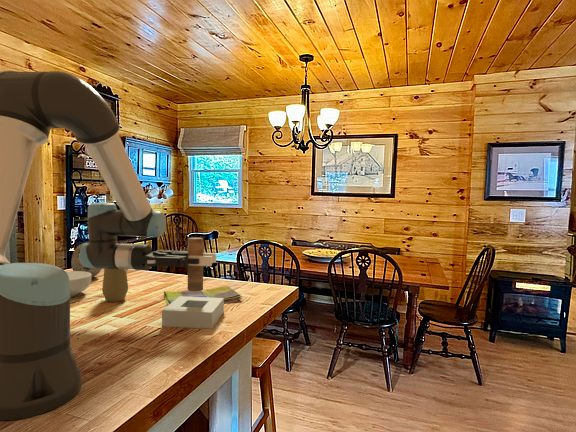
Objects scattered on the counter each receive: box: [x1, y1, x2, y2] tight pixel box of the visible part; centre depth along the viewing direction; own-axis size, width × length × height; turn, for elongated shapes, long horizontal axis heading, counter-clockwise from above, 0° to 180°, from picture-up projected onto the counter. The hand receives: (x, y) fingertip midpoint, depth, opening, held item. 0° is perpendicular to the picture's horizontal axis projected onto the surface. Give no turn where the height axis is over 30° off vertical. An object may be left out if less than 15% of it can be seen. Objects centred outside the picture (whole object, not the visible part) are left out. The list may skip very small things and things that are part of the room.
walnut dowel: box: [187, 237, 204, 291], centre depth 108 cm, size 4×4×15 cm
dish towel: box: [163, 285, 243, 306], centre depth 129 cm, size 18×24×3 cm
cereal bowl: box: [65, 270, 93, 298], centre depth 129 cm, size 17×17×7 cm
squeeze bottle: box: [101, 269, 129, 303], centre depth 125 cm, size 8×8×18 cm
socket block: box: [161, 296, 225, 330], centre depth 108 cm, size 14×14×4 cm
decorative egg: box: [70, 242, 102, 279], centre depth 154 cm, size 12×12×15 cm
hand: (213, 259), depth 107 cm, fingers closed on walnut dowel, 4 cm apart
